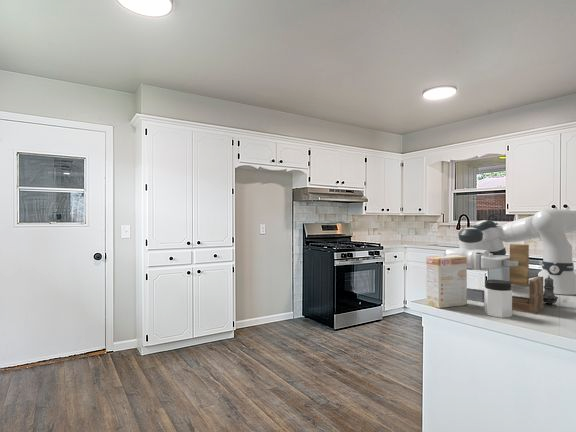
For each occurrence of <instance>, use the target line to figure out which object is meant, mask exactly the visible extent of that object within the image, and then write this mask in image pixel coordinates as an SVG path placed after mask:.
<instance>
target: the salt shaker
mask: <svg viewBox="0 0 576 432" xmlns="http://www.w3.org/2000/svg"><path fill="white" fill-rule="evenodd" d="M543 287H544V292H543V307H546V308H558V305H556V303H557V301H558V299H559V297H558V296H556V295H555V294H554V287H553V279H552V278H550V276H548V278H545V286H543Z"/></svg>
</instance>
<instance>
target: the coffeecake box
mask: <svg viewBox="0 0 576 432" xmlns="http://www.w3.org/2000/svg"><path fill="white" fill-rule="evenodd" d="M425 258H426V263H425V264H426V305H427V306H430V307H434V308H437V309H443V308H444V309H445V308H451V307H458V306H459V307H460V306H467V305H468V301H467V300H468V299H467V288H468V283H467V280H468V276H467V275H468V274H467V272H468V271H467V270H468V269H467V257H466V256H459V255H446V256H445V255H434V256H433V255H430V256H426V257H425Z"/></svg>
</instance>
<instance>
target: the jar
mask: <svg viewBox="0 0 576 432" xmlns="http://www.w3.org/2000/svg"><path fill="white" fill-rule="evenodd" d="M483 288H484V289H483V290H484V302H483V304H484V305H483V307H484V309H483V310H484V313H485V314H486V315H487V316H490V317H495V318H502V319H503V318H512V317H513V310H512V296H513V290H512V284H511V282H510V280H509V281H508V280H502V279H486V280H485V281H484V287H483Z"/></svg>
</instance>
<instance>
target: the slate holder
mask: <svg viewBox="0 0 576 432" xmlns="http://www.w3.org/2000/svg"><path fill="white" fill-rule="evenodd" d="M467 300H469V301H475V302H480V303H484V289H476V288H468V287H467Z"/></svg>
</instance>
